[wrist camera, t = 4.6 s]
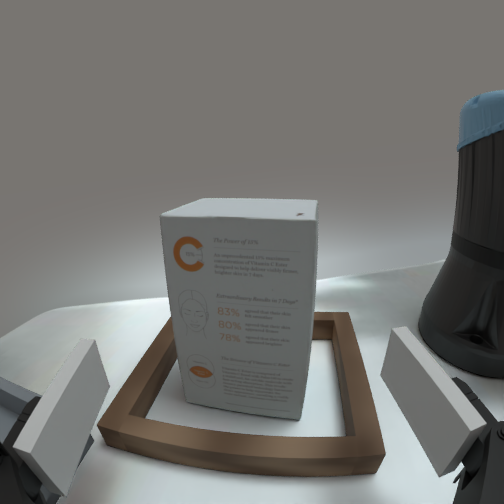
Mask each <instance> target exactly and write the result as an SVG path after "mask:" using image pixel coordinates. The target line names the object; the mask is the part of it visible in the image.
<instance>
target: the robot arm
mask: <svg viewBox="0 0 504 504" xmlns="http://www.w3.org/2000/svg"><path fill="white" fill-rule="evenodd" d="M459 129H460V130H459V144H458V145H457V152H459V169H458V187H457V201H456V211H455V218H454V226H453V234H452V241H451V247H450V251H449V254H448V257H447V259H446V261H445V262H444V264H443V266H442V268H441V270H440V272H439V274H438V276H437V278H436V280H435V282H434V284H433V285H432V287H431V289H430V291H429V293H428V294H427V296H426V298H425V300H424V303H423V307H422V311H421V315H420V319H419V329H420V332H421V335H422V337H423V338H424V340H425V341H426V343H427V344H428V345H429V346H430V347H431V348H432V349H433V350H434V351H435V352H436V353H437V354H438V355H440V356H441V357H442V358H444V359H445V360H447V361H449V362H450V363H452V364H454V365H456V366H458V367H460V368H462V369H464V370H467V371H470V372H472V373H476V374H479V375H483V376H489V377H497V378H504V90H499V91H492V92H487V93H484V94H480V95H478V96H476V97H473V98H471V99H470V100H468V101H467V102H466V103H465V104H464V106H463V107H462V109H461V112H460V128H459ZM380 376H381V377H382V379H383V381H384V382H385V384H386V386H387V387H388V389H389V391H390V392H391V394H392V396H393V397H394V399H395V401H396V402H397V404H398V406H399V408H400V409H401V411H402V413H403V414H404V416H405V418H406V420H407V421H408V423H409V425H410V426H411V428H412V430H413V432H414V433H415V435H416V437H417V439H418V440H419V442H420V444H421V446H422V448H423V449H424V451H425V453H426V455H427V457H428V458H429V460H430V462H431V464H432V466H433V468H434V469H435V471H436V473H437V475H438V477H441V476H443V475H446V474H448V473H450V472H452V471H455V469H456V468H457V467H458V465H459V464H460V463H461V462H462V463H463V465H464V466H465V467H464V468H463V469H462V470H461V472H460V473H459V474H458V476H457V477H456V478H455V480H454V482H453V483H456V482H457V481H458V479H459V478H460V480H459V483H458V487H457V491H456V494H455V498H454V501H453V504H504V421H500V422H498V421H497V420H496V419H495V418H494V416H493V415H492V414H491V413H490V411H489V410H488V409H487V408H486V407H485V405H484V404H483V403H482V402H481V400H480V399H478V397H477V396H476V394H475V393H473V391H472V390H471V388H470V387H469V386H468V385H467V384H466V383H465V382H463V381H462V380H460V379H458V378H457V377H456V378H452V379H451V378H450V377H449V376H448V375H447V373H446V372H445V371H444V370H443V369H442V367H441V366H440V365H439V364H438V363H437V362H436V360H435V359H434V358H433V357H432V356H431V355H430V353H429V352H428V351H427V350H426V349H425V348H424V346H423V345H422V344H421V343H420V342H419V341H418V340H417V338H416V337H415V336H414V335H413V334H412V333H411V332H410V331H409V329H408V328H407V327H406V326H405V327H398V328H392V330H391V334H390V339H389V343H388V347H387V351H386V355H385V359H384V363H383V367H382V371H381V374H380ZM109 388H110V385H109V382H108V379H107V376H106V373H105V370H104V367H103V364H102V361H101V358H100V355H99V351H98V348H97V345H96V341H95V340H93V339H80V340H79V342H78V343H77V345H76V346H75V347H74V349H73V350H72V352H71V353H70V355H69V356H68V358H67V359H66V361H65V362H64V364H63V365H62V367H61V368H60V370H59V371H58V373H57V374H56V376H55V377H54V379H53V380H52V382H51V383H50V385H49V386H48V388H47V390H46V391H45V393H44V394H43V396H42V397H38V396H35V397H34V398H33V399H32V400H30V401H29V402H28V403H27V404H26V406H25V407H24V409H23V410H22V414H20V415H19V417H18V418H17V421H16V422H15V423H14V425H13V426H12V428H11V430H10V431H9V433H8V435H7V437H6V438H5V440H4V442H3V443H1V442H0V504H47V502H46V500H45V497H44V495H43V493H42V492H41V490H40V488H41V486H42V484H43V485H44V486H45V487H46V488H47V489H48V490H49V492H52V493H55V494H58V495H61V496H65V497H67V494H68V491H69V488H70V486H71V483H72V480H73V477H74V474H75V472H76V469H77V466H78V464H79V461H80V458H81V456H82V453H83V450H84V448H85V445H86V443H87V440H88V438H89V435H90V433H91V430H92V428H93V425H94V423H95V420H96V418H97V416H98V413H99V411H100V408H101V406H102V404H103V401H104V399H105V397H106V394H107V392H108V390H109Z"/></svg>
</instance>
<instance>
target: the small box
mask: <svg viewBox="0 0 504 504" xmlns="http://www.w3.org/2000/svg"><path fill="white" fill-rule="evenodd" d="M160 225H161V235H162V245H163V254H164V264H165V272H166V281H167V290H168V297H169V304H170V311H171V318H172V324H173V332H174V338H175V345H176V350H177V357H178V362H179V367H180V373H181V378H182V383H183V388H184V393H185V397H186V401H187V402H190V403H195V404H200V405H205V406H210V407H215V408H220V409H225V410H231V411H237V412H243V413H250V414H257V415H264V416H272V417H281V418H290V419H300V418H301V414H302V409H303V403H304V397H305V390H306V384H307V377H308V369H309V361H310V353H311V343H312V333H313V321H314V309H315V294H316V275H317V251H318V201H317V200H295V199H248V198H243V199H242V198H241V199H240V198H203V199H200V200H197V201H194V202H192V203H189V204H186V205H183V206H181V207H178V208H176V209H173V210H170V211H168V212H166V213H162V214H161V215H160Z"/></svg>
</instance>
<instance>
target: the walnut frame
mask: <svg viewBox="0 0 504 504" xmlns="http://www.w3.org/2000/svg"><path fill="white" fill-rule="evenodd" d="M312 339H332V342H333V348H334V354H335V360H336V366H337V373H338V379H339V386H340V392H341V399H342V406H343V414H344V421H345V429H346V436H344V437H283V436H264V435H250V434H239V433H230V432H221V431H213V430H206V429H199V428H192V427H186V426H180V425H175V424H169V423H164V422H159V421H154V420H150V419H145V417H146V415H147V413H148V411H149V409H150V407H151V406H152V404H153V402H154V400H155V398H156V396H157V394H158V392H159V391H160V389H161V387H162V385H163V383H164V381H165V379H166V378H167V376H168V374H169V372H170V370H171V368H172V366H173V365H174V363H175V361H176V359H177V350H176V345H175V338H174V332H173V324H172V318H171V317H170V318H169V320H168V321H167V323H166V324H165V325H164V327H163V328H162V330H161V331H160V333H159V334H158V335H157V337H156V338H155V340H154V341H153V343H152V344H151V345H150V347H149V348H148V350H147V351H146V353H145V354H144V356H143V357H142V358H141V360H140V361H139V363H138V364H137V366H136V367H135V369H134V370H133V372H132V373H131V374H130V376H129V377H128V379H127V380H126V382H125V383H124V385H123V386H122V388H121V389H120V391H119V392H118V394H117V395H116V397H115V398H114V400H113V401H112V403H111V404H110V406H109V407H108V409H107V410H106V412H105V413H104V415H103V416H102V418H101V419H100V421H99V422H98V424H97V426H98V429H99V431H100V432H101V434H102V436H103V438H104V440H105V442H106V444H107V445H109V446H112V447H115V448H119V449H122V450H125V451H129V452H132V453H136V454H140V455H143V456H147V457H151V458H155V459H160V460H164V461H168V462H173V463H178V464H183V465H188V466H194V467H200V468H206V469H212V470H219V471H227V472H235V473H245V474H256V475H271V476H299V477H316V476H345V475H359V474H370V473H376V472H377V470H378V468H379V466H380V465H381V463H382V461H383V459H384V457H385V455H386V453H385V448H384V443H383V439H382V434H381V430H380V426H379V421H378V417H377V413H376V409H375V405H374V401H373V397H372V393H371V389H370V386H369V382H368V378H367V374H366V371H365V367H364V363H363V360H362V356H361V353H360V349H359V346H358V342H357V339H356V336H355V332H354V329H353V326H352V322H351V319H350V316H349V313H348V312H314V321H313V333H312Z"/></svg>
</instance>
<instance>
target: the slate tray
mask: <svg viewBox="0 0 504 504" xmlns="http://www.w3.org/2000/svg"><path fill="white" fill-rule="evenodd" d="M35 396H38V397H42V396H41V395H39V394H37V393H34V392H32V391H30V390H27V389H25V388H23V387H21V386H18V385H16V384H14V383H12V382H10V381H8V380H6V379H4V378H2V377H0V442H1V443H3V442H4V440H5V438H6V437H7V435H8V433H9V431H10V430H11V428H12V426H13V425H14V423H15V422H16V421H17V418H18V417H19V415H20V414H22V410H23V409H24V407H25V406H26V404H27V403H28V402H29V401H30V400H32V399H33V398H34V397H35ZM93 441H94V439H93V438H92V436H91V434H90V435H89V438H88V440H87V443H86V445H85V448H84V450H83V453H82V456H81V458H80V461H79V464H80V462H81V461H82V459H83V457H84V456H85V454H86V453H87V451H88V449H89V448H90V446H91V445H92V443H93ZM79 464H78V466H79ZM78 466H77V467H78ZM40 490H41V492H42V493H43V495H44V497H45V500H46V502H47V504H55V503H56V502H57V500H58V498H59V497H60V495H58V494H55V493H52V492H49V490H48V489H47V488H46V487H45V486H44V485H43V484H42V486H41V488H40Z"/></svg>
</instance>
